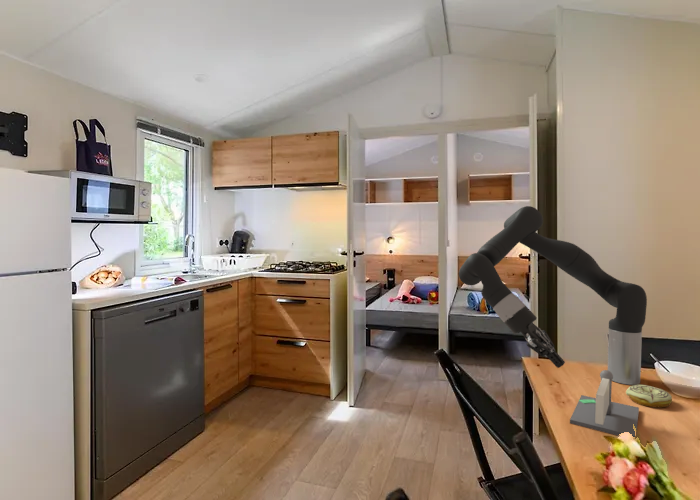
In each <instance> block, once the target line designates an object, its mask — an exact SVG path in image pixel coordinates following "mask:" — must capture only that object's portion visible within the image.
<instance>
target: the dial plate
mask: <svg viewBox="0 0 700 500" xmlns="http://www.w3.org/2000/svg"><path fill="white" fill-rule="evenodd" d="M639 411H640V407H638V406H634V405H628V404H625V403H620V402H615V401H611V414H606V417H605V420H604V424H603V425H601V424H597V423H595V413H596V397H591V396H588V395H583V394H582V395H580V397H579V399H578V402H577V403H576V406H575V408H574V410H573V412H572V414H571V416H570V419H569V424H570V425H571V424H572V425H575V426H580V427H583V428H587V429H590V430H591V429H592V430H595V431H599V432H603V433H607V434H611V435H614V436H616V437H617V436H618V435H619V434H621V433H624V432H629V433H630V434H632V436H633V437H635V431H634V429H633V424H634V426H635V428H636V430H638V421H639V414H640V413H639ZM618 437H619V436H618Z"/></svg>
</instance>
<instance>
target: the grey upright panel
mask: <svg viewBox="0 0 700 500" xmlns="http://www.w3.org/2000/svg"><path fill="white" fill-rule="evenodd" d="M599 377H600V383H599V385H598V388H597V391H596V393H595V398H596V413H595V423H597V424H601V425H603V424H604V420H605V417H606V414H611V402H612V389H613V388H612V385H613V384H612V383H613V381H612V379H613V374H612V373H611V372H610V371H608V369H603V370H601V372H600V373H599Z"/></svg>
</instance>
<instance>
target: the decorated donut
mask: <svg viewBox="0 0 700 500" xmlns="http://www.w3.org/2000/svg"><path fill="white" fill-rule="evenodd" d="M625 394H626V396H628V398H629V399H630V400H631V401H632V402H634V403H636V404H637V405H640V406H644V407H650V408H657V409H658V408H666V407H669V406H670V405H671V403H672V402H673V396H672V394H670V393H669V392H668V391H667V390H664V389H662V388H660V387H659V388H658V387H656V386H655V387H654V386H651V385H648V384H636V385H629V387H628V388H627V389H626V390H625Z"/></svg>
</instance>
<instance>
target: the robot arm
mask: <svg viewBox="0 0 700 500" xmlns="http://www.w3.org/2000/svg"><path fill="white" fill-rule="evenodd" d="M543 224H544V217H543V214H542V213H541V212H540V211H539V210H538V209H537V208H535V207H534V206H531V205H530V206H529V205H526V206H522V207H521V208H519V209H517V210H516V211H515V212H514V213H512V214H511V215H510V216H509V217H508V218H507V219H506V220H505V221H504V223H503V229H502V230H500V231H499V232H498V233H496V234H495V235H493V236H492V237H491V238H490V239H489V240H488V241H487V242H485V243H484V244H483V245H482V246H481V247H480V248H479V249H478V250H477V252H473V253H471V254H470V255H469V256H468V257H467V258H466V260H465V261H464V263H463V264H461V266H460V268H459V270H458V279H460V281H461V282H462V284H464V285H467V286H475V285H478V284H479V283H481V284H482V290H481V297H482V298H483V299H484V300H485V301H486V302H487V304H488V305H489V306H490V307H491V308H492V309H493V311H494V312H495V313H496V315H497V316H498V317H499V319H500V320H501V321H502V322H503V323H504V324H505V325H506V326H507V328H508V329H509V330H510V331H511V333H513V334H514V335H518V334H520V333H521V335H523V338H524V339H525V340H526V346H527V347H528V348H530V349H531V350H533V352H536V353H537V354H539V355H540V356H541V357H545V358H548V359H549V361H551V363H552V364H553V365H554V366H555V367H556V368H557V369H560V368H561V367H563V366H564V365H565V364H566V361H565V360H564V359H563V358H562V357H561V356H560V355H559V354H558V352H557V351H556V349H555V345H554V343H553V341H552V340H551V338H550V336H549V334H548V332H547V331H546V330H545V329H543V330H542V328H541V327H538V326H537V325H535V324H534V323H535V321H537V316H536V315H535V314H534V313H533V312H532V311H531V310H530V308H529V307H527V305H526V304H525V303H524V302H523V301H522V300H521V299H520V298H519V297H518V296H516V295H515V294H514V293H513V292H512V290H511V289H510V288H508V287H507V285H506V284H505V283H504V282H503V281H502V279H501V277H500V275H499V273H498V271H497V269H496V268H495V266H497V265H498V264H499V263H500V262H501V261H502V260H503V259H504V258H506V256H507V255H508V254H509V253H510V252H511V251H512V250H513V249H514V248H515V247H516V246H517V245H518V244H522V245H523V246H525V247H527V248H528V249H530V250H532V251H533V252H536V253H537V254H538V255H541V256H542V257H543V258H545V259H546V260H548V261H550V262H551V263H553V265H555V266H556V267H558V268H559V269H560V270H562V271H563V272H564V273H566V274H568V275H569V276H571V277H572V278H574V279H576V280H577V281H578V282H580V283H581V284H584V285H585V286H586V287H588V288H590V289H592V290H593V291H594V292H595V293H596V294H597V295H598V296H600V297H601V298H602V300H604V301H605V303H607V304H609V305H610V306H612V307H613V308H616V314H615V317H614V318H611V319H610V320H609V321H608V340H607V341H608V342H607V343H608V346H607V370H608V371H610V372H611V373H612V374H613V379H612V382H615V383H619V384H623V385H629V386H633V385H641V374H642V372H641V371H642V370H641V369H642V342H643V341H642V339H643V338H642V337H643V336H642V335H643V334H642V333H643V332H642V331H643V327H644V324H645V322H646V316H647V315H646V314H647V306H648V305H647V303H648V302H647V301H648V298H647V293H646V291H645V289H644V288H643V287H642V286H641V285H639V284H636V283H630V282H626V281H621V280H619V279H617V278H615V277H614V276H612V275H610V274H609V273H607V272H606V271H605V270H604V269H602V268H601V267H600V265H599V264H598V263H597V261H596V260H595V258H594V257H593V256H592V255H591V254H589V253H588V252H586V251H585V250H584V249H582V248H581V247H579V246H578V245H577V244H574V243H573V242H570V241H565V240H559V239H554V238H550V237H546V236H543V235H542V234H539V233H538V232H537V231H538V230H540V228H541V227H542V226H543Z"/></svg>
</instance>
